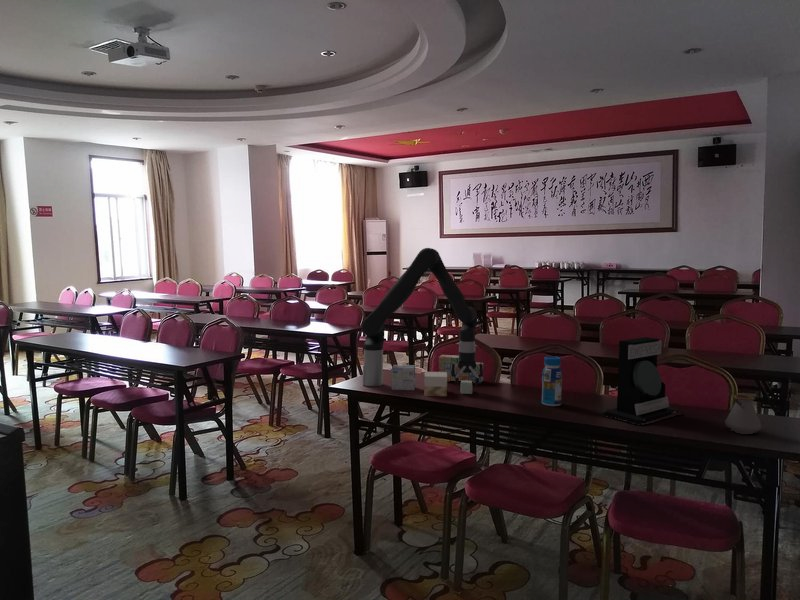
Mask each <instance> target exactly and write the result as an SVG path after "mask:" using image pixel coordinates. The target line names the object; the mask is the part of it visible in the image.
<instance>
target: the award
mask: <svg viewBox="0 0 800 600" xmlns="http://www.w3.org/2000/svg"><path fill="white" fill-rule="evenodd" d="M618 343H619V345H618V367H617V370H618V373H617V391H616V392H617V394H616V395H617V397H616V400H617V401H616V407H613V408H610V409H607V410H604V411H603V412H601V416H602V415H604V416H608V417H612V418H615V417H616V419H618V418H619V419H620V420H621V419H622V420H627V422H631V423H635V424H641V423H646V422H649V421H652V420H656V419H659V418H662V417H665V416H668V415H671V414H672V413H673V414H674V413H675V412H678V411H680V410H679V409H678V408H675V407H672V406H670V402H669V397H668V396H666V384H665V383H664V382H663V381H662V379H661V374H660V373H659V370H658V355H662V343H663V342H662V340H660V338H656V337H655V338H654V337H647V336H644V337H638V338H637V337H636V338H628V339H623V340H619V341H618ZM604 416H603V417H604Z"/></svg>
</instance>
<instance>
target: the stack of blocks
mask: <svg viewBox="0 0 800 600" xmlns="http://www.w3.org/2000/svg"><path fill="white" fill-rule="evenodd" d="M475 362H476V364H480V363H482V367H483V368H484V363H483V362H477V361H475ZM452 363H456V364H458V363H459V355H458V354H457V355H453V354H452V355H450V354H441V355H440V356H438V372H447V382H450V381H455V377H452V376H451V371H452ZM459 369H460V368H459V367H458V366H457V367H456V368H455V369H454V374H457V372H458V371H459ZM474 370H475V371H476V373H477V374H480V368H478V366H476V368H475V369H474ZM475 377H476V376H475V375H474V374H473V372H471V373H463V372H462V373H461V374H460V375H459V377H458V381H461V380H462V381H472V382H473V383H472V384H475ZM482 381H484V376H483V377H479V384H482V383H483V382H482ZM481 382H482V383H481Z"/></svg>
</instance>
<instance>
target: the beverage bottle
mask: <svg viewBox="0 0 800 600" xmlns="http://www.w3.org/2000/svg"><path fill="white" fill-rule="evenodd" d="M543 360H544V361H543V362H544V363H543V364H544V368H543V370H542V372H541V373H542V376H541V382H542V383H541V384H542V385H541V386H542V387H541V388H542V389H541V404H543V405H545V406H549V407H558V406H561V405H562V389H563V388H562V387H563V386H562V384H563V378H562V376H563V371H562V370H561V368H560V367H561V365H562V364H561V362H562V357H559V356H556V355H555V356H553V355H549V356H545V357H544V359H543Z"/></svg>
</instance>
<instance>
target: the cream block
mask: <svg viewBox="0 0 800 600" xmlns="http://www.w3.org/2000/svg"><path fill="white" fill-rule="evenodd" d="M424 383H425V386H431V387H447V388H448V381H447V372H439V371H424Z"/></svg>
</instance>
